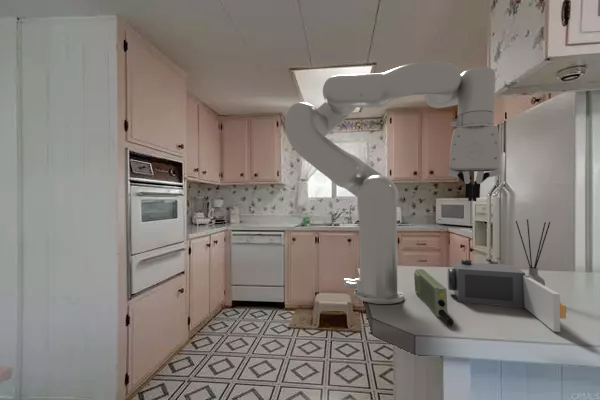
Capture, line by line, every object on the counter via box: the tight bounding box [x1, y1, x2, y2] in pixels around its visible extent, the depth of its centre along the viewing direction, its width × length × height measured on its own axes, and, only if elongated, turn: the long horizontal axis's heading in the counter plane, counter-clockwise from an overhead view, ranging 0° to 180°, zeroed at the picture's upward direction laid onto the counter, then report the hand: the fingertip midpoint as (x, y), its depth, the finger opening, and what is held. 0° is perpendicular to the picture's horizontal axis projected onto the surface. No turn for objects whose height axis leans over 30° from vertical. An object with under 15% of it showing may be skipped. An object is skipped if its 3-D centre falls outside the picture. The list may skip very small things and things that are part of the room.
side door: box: [523, 274, 567, 333], centre depth 64 cm, size 15×2×7 cm, turn 162°
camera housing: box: [446, 258, 526, 309], centre depth 79 cm, size 16×10×9 cm, turn 70°
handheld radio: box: [413, 268, 455, 326], centre depth 73 cm, size 7×3×25 cm
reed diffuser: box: [515, 219, 551, 286], centre depth 80 cm, size 10×7×20 cm
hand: (472, 200), depth 73 cm, fingers closed
